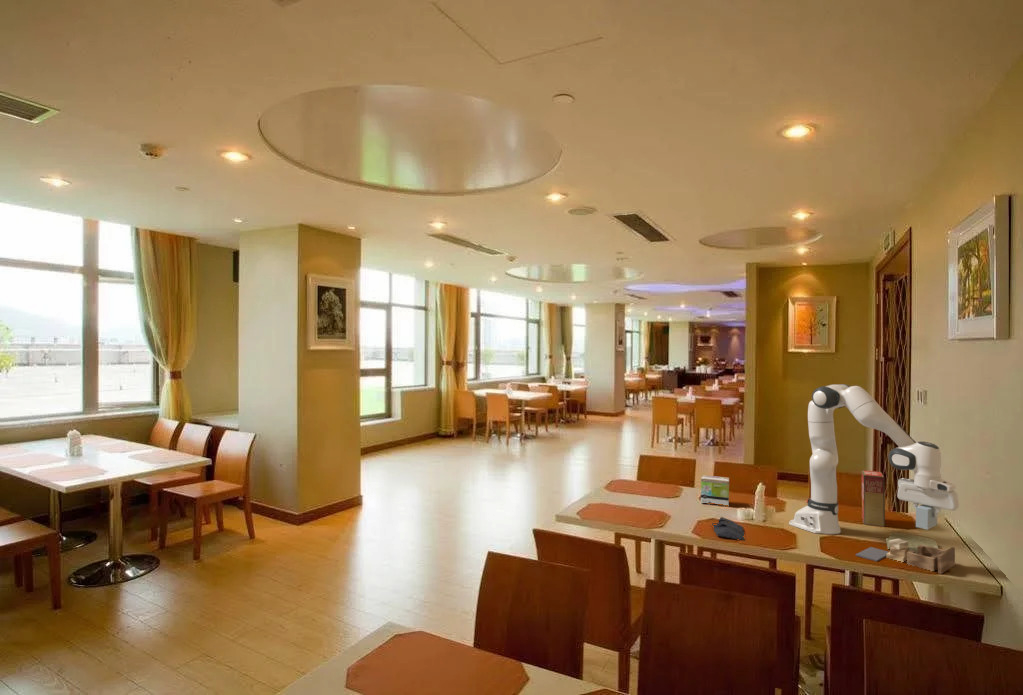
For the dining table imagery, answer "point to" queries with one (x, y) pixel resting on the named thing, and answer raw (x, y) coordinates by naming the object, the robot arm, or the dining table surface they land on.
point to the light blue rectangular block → (925, 517)
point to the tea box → (715, 490)
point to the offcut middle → (899, 551)
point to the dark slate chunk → (728, 529)
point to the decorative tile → (912, 541)
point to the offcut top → (898, 544)
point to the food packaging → (873, 498)
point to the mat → (872, 554)
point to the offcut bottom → (896, 557)
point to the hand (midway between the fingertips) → (926, 515)
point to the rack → (932, 558)
